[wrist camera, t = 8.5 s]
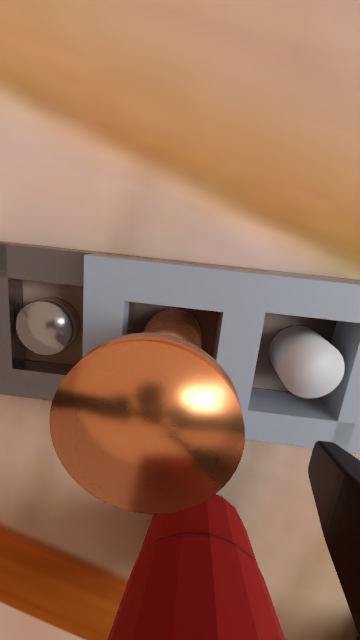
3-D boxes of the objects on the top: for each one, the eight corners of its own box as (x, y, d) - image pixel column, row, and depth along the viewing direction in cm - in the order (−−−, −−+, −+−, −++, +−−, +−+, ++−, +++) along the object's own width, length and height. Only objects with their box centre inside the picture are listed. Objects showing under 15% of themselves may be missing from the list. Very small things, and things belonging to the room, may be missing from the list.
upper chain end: (340, 424, 17) (363, 454, 14) (97, 394, 17) (81, 418, 15) (380, 282, 15) (414, 290, 12) (101, 252, 15) (83, 254, 13)
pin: (229, 293, 15) (261, 356, 7) (215, 385, 17) (229, 525, 9) (128, 282, 15) (48, 330, 7) (122, 374, 17) (50, 500, 9)
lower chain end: (236, 411, 17) (239, 424, 16) (-1, 381, 17) (-15, 392, 16) (261, 269, 15) (266, 272, 14) (-10, 240, 15) (-28, 240, 14)
